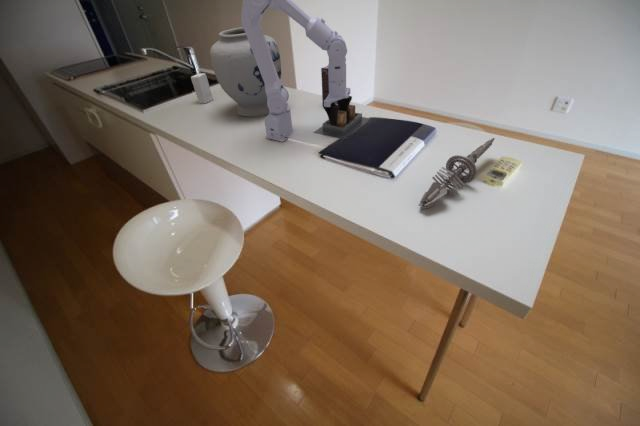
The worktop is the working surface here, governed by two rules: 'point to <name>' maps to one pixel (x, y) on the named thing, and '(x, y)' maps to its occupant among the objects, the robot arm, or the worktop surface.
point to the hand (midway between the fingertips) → (338, 120)
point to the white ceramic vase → (242, 71)
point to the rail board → (342, 127)
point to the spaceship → (453, 176)
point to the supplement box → (325, 83)
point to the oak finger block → (341, 118)
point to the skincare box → (202, 88)
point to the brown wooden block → (350, 112)
